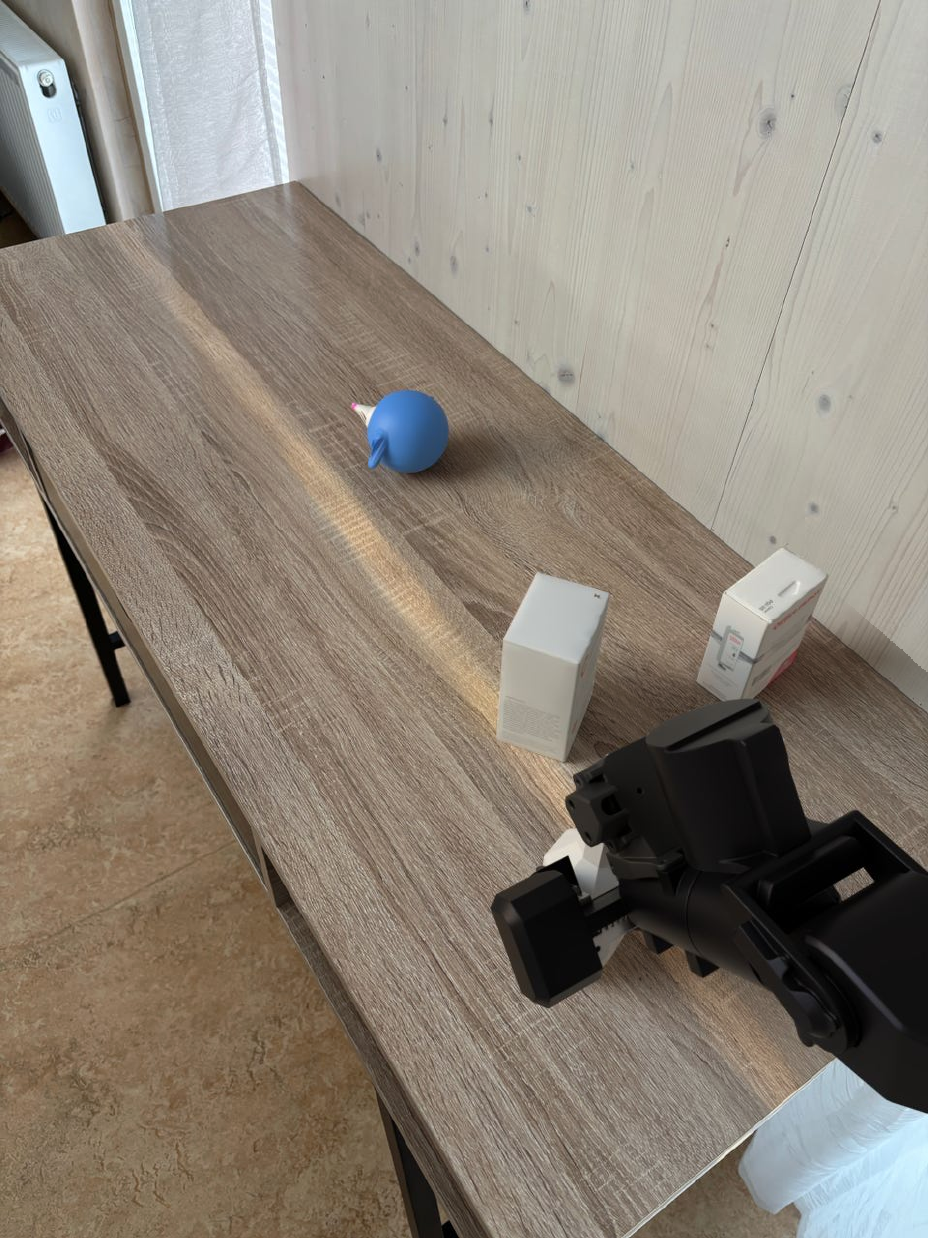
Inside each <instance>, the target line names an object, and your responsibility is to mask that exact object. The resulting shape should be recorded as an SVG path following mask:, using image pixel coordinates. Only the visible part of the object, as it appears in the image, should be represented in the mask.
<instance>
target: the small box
mask: <svg viewBox="0 0 928 1238" xmlns="http://www.w3.org/2000/svg"><path fill="white" fill-rule="evenodd" d="M610 598H611V593H610V592H607V591H604V590H601V589H598V588H594V587H591V586H588V585H585V584H581V583H578V582H574V581H570V580H568V579H563V578H561V577H556V576H553V575H549V574H546V573H545V574H544V573H542V572H538V571H536V572H535V573H534V576H533V577H532V579H531V582H530V583H529V585H528V587H527V590H526V592H525V594H524V595H523V598H522V599H521V601H520V603H519V606H518V608H517V609H516V612H515V613H514V616H513V617H512V620H511V621H510V624H509V626H508V628H507V630H506V632H505V633H504V636H503V638H502V650H501V663H500V665H501V666H500V679H499V681H500V682H499V694H498V708H497V721H496V734H495V739H496V740H497V741H498V742H501V743H503V744H508V745H510V746H514V747H516V748H520V749H522V750H525V751H528V752H531V753H534V754H537V755H539V756H543V757H546V758H549V759H552V760H555V761H557V762H562V763H565V762H567V759H568V757H569V754H570V752H571V750H572V747H573V745H574V742H575V740H576V738H577V735H578V732H579V729H580V727H581V724H582V722H583V720H584V717H585V714H586V713H587V712H586V711H587V709H588V707H589V704H590V702H591V698H592V696H593V690H594V686H595V685H594V684H595V678H596V672H597V667H598V660H599V656H600V655H599V654H600V652H601V651H600V650H601V646H602V641H603V636H604V629H605V625H606V618H607V613H608V608H609V602H610Z"/></svg>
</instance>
